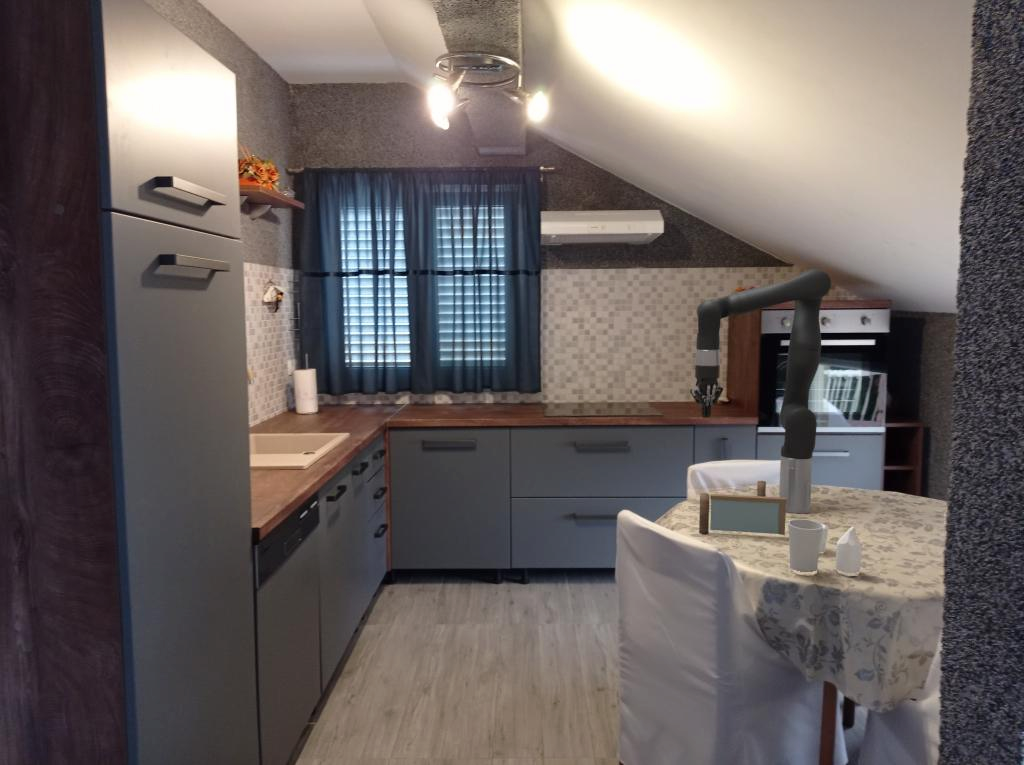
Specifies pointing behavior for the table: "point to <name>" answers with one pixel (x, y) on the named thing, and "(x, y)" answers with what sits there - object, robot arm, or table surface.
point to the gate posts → (705, 507)
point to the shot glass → (823, 538)
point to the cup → (804, 544)
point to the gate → (748, 513)
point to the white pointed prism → (849, 552)
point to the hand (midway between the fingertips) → (706, 417)
